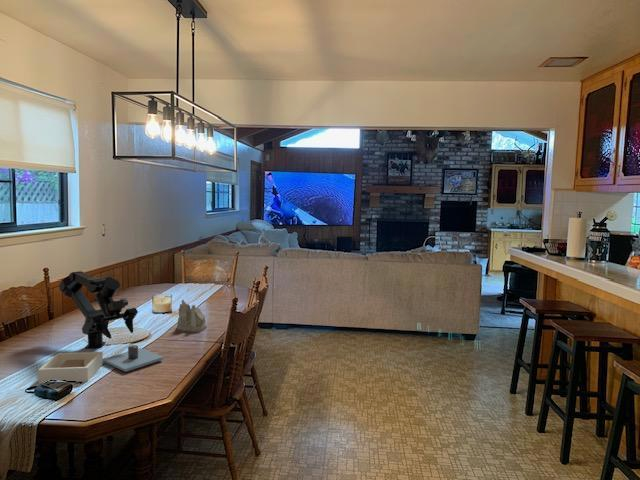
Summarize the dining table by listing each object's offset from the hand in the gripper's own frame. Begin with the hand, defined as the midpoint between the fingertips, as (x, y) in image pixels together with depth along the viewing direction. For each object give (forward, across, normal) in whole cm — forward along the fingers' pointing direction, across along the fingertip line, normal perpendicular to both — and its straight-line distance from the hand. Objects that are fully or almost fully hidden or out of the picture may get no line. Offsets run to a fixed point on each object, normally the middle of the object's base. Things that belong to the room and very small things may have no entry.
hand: (121, 335), depth 178 cm
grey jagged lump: (-2, +44, +16) cm, 47 cm away
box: (+7, -20, +6) cm, 22 cm away
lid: (+12, 0, +1) cm, 12 cm away
